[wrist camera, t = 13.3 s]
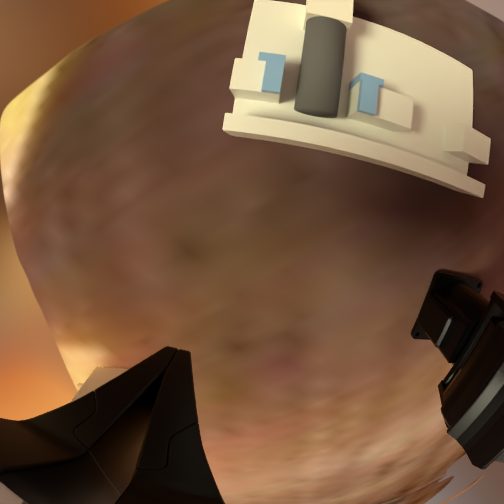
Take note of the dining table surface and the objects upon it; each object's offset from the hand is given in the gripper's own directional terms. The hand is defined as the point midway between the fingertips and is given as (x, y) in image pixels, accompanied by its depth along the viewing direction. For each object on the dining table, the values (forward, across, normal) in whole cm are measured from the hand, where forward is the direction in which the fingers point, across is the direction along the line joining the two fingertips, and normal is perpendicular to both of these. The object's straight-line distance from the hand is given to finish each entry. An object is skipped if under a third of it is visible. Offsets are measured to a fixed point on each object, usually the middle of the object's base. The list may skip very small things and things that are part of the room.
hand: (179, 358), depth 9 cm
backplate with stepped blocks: (+12, -8, -14) cm, 20 cm away
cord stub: (+11, -4, -15) cm, 19 cm away
